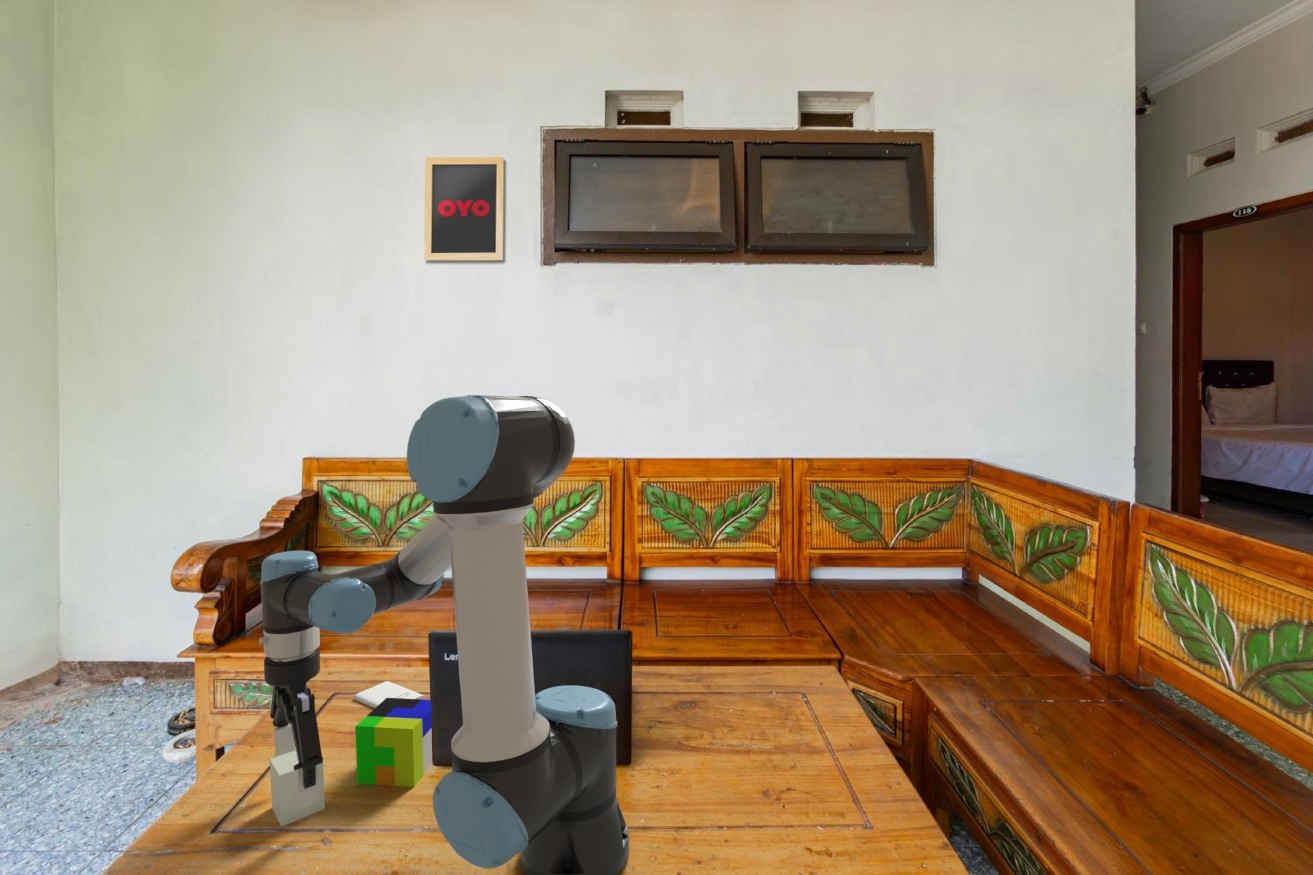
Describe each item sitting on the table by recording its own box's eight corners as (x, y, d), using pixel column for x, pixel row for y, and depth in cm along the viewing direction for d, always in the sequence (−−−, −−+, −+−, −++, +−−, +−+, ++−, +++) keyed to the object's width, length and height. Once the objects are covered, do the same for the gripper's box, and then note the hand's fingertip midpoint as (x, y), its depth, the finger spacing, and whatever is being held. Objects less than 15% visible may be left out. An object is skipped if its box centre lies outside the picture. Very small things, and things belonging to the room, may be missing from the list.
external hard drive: (388, 687, 142) (424, 701, 136) (354, 701, 135) (390, 717, 129) (388, 680, 142) (424, 693, 136) (353, 694, 135) (390, 709, 129)
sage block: (324, 809, 99) (322, 759, 99) (281, 826, 95) (279, 775, 95) (313, 791, 104) (312, 744, 103) (271, 807, 100) (269, 758, 99)
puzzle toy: (440, 753, 115) (439, 700, 114) (414, 787, 105) (412, 728, 104) (388, 750, 116) (386, 697, 115) (357, 783, 106) (355, 725, 105)
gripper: (246, 635, 104) (251, 758, 106) (285, 687, 86) (289, 835, 88) (297, 624, 110) (301, 742, 111) (344, 671, 91) (347, 811, 93)
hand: (296, 783), depth 99 cm, fingers open, 13 cm apart
